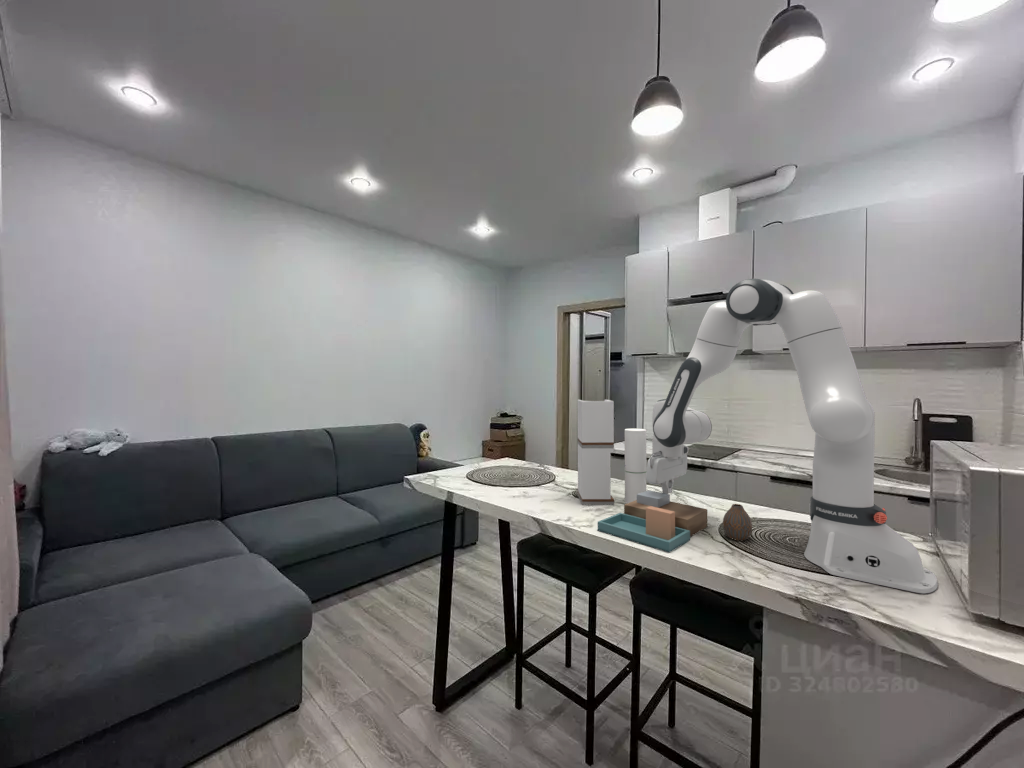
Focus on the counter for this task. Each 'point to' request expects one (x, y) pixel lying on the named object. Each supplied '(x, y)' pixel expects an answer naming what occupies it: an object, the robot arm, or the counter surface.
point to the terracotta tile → (660, 522)
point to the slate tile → (653, 498)
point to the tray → (641, 532)
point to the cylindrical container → (635, 463)
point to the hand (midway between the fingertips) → (667, 493)
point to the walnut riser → (684, 515)
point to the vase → (737, 523)
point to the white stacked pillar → (595, 451)
